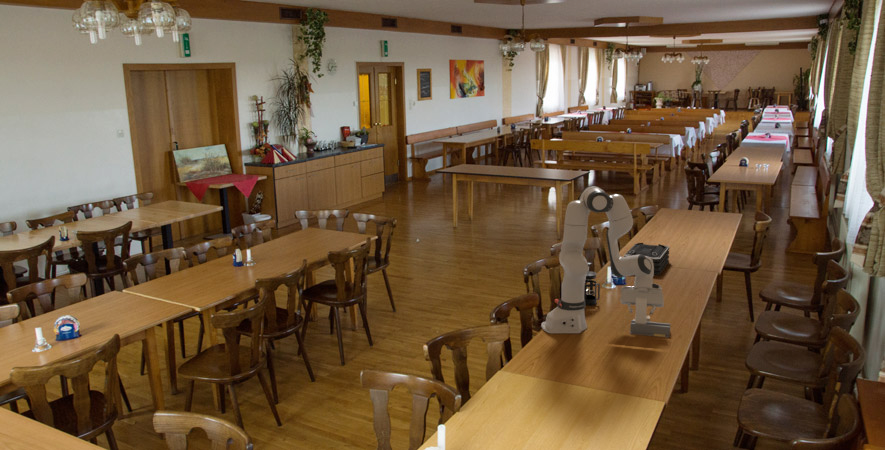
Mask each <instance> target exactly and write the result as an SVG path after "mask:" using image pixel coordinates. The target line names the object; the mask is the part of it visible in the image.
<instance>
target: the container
mask: <svg viewBox="0 0 885 450" xmlns="http://www.w3.org/2000/svg"><path fill="white" fill-rule="evenodd" d="M640 254H642V255H644V256H648V257H650V258H651V259H652V260H653V265H654V275H656V276H661V274H662V272H664V269H665V268H666V267H667V266H668V264H669V263H670V260H669V258H670V255H669V254H670V246H669V245H664V244H661V243H659V244H658V245H656V244H653V245H652V244H647V243H646V244H645V243H644V242H636V243H635V244H634V245H633V246H631V248H630V249H629V250H628V251H626V253H625V254H624V255H623V257H626V256H632V255H640ZM666 265H667V266H666ZM654 275H653V276H654Z"/></svg>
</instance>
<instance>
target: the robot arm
mask: <svg viewBox="0 0 885 450" xmlns="http://www.w3.org/2000/svg"><path fill="white" fill-rule="evenodd" d="M591 212H594V213H597V214H599V213H605V214H606V218H607V220H608V224H609V228H607V229H606V243H607V247H608V248H607V249H608V255H609V261H610V262H609V265H610V272H611V274H612V275H614V276H615V277H617V278H618V279H621V278H625V277H629V276H631V277H632V276H635V278H634V282H633V286H627V285H625V286H623V287H621V289H620V294H621V295H620V299H619V300H620V301H619V302H620V303H621V304H622V305H627V308H628V310H629V313H630V314H633V312H634V310H633V309H634V308H633V307H631V306H636V298H643V299H647V307H651V308H652V309H650V310H649V315H652V316H653V315H654V312H655V311H656V308H663V307H664V304H665V299H664V293H663V291H662V290H663V287H662V285H660V284H657V283H655V282H654V280H653V278H654V265H653V260H652V259H651V258H650V257H648V256H644V255H642V254H640V255H632V256H626V257H624V256H621V255H620V250H619V244H618V240H619V239H620V238H621V237H624V236H625V235H626V234H627V233H629V232H630V231H631V230H632V228H633V225H634V218H633V216H632V215H633V214H632V211H631V210H630V207H629V205H628V203H627V200H625V197H624V196H623V195H622V194H619V193H618V194H617V193H614V194H611V195H609V194H608V193H607V192H605V190H604V189H602V188H601V187H600V186H597V185H588V186H586V187H585V188H584V189H583V190H582V192H581V193H580V195H579V196H578V198H577V200H572V201H570V202H568V204H567V207H566V210H565V215H564V226H563V236H562V237H563V238H562V242H561V243H562V244H561V247H560V252H559V254H558V259H559V264H560V265H561V267H562V268H563V279H562V283H561V298H560V300H559V299H558V298H555V299H554V302H555V303H556V304H557V306H556V307H555V308H553V310H551V311H549V312H548V313H547V315H546V318H545V321H543V322H541V325H540V327H541V329H542V330H543V331H544V332H545V333H548V334H581V333H582V332H583V331H585V330H586V329H587V328H588V325H587V320H586V316H585V311H586V305H585V300H584V285H585V283H586V282H585V280H587V279H586V274H587V271H588V263H587V262H588V261H587V259H586V257H585V256H584V255H583V253H584V252H583V251H584V247H585V244H586V242H587V238H588V227H589V226H588V224H589V222H588V221H589V215H590V213H591Z"/></svg>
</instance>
